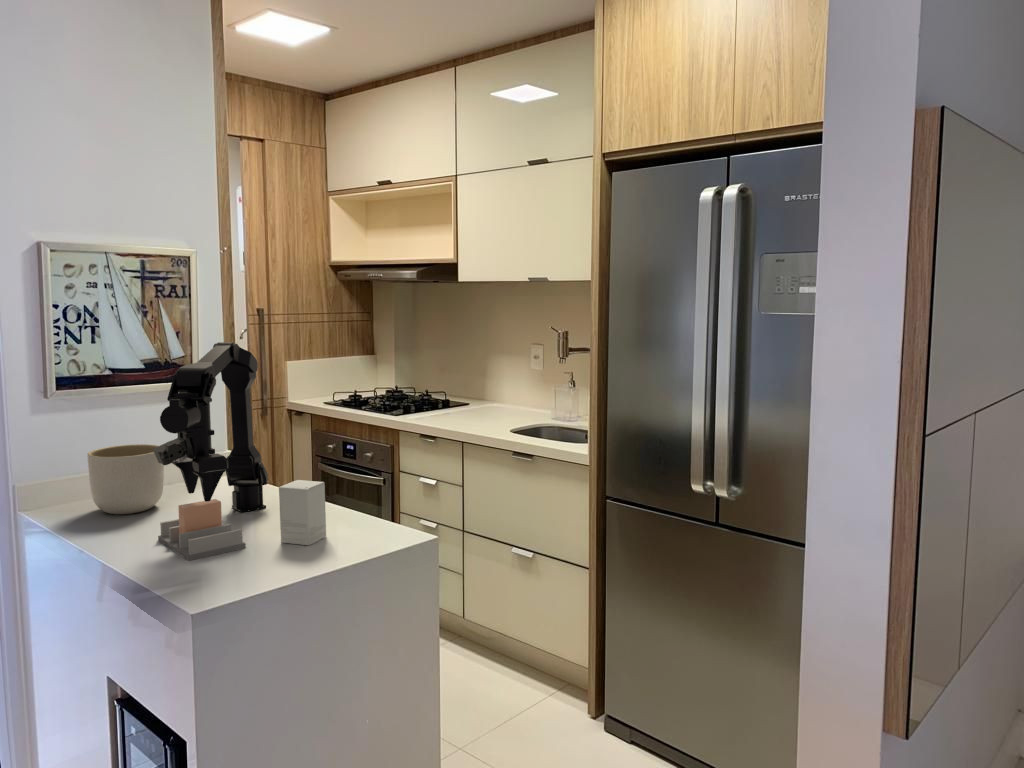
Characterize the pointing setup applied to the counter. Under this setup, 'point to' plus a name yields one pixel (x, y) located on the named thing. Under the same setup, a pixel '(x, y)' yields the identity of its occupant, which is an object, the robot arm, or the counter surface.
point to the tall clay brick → (199, 515)
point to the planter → (125, 478)
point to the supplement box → (302, 512)
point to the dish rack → (200, 540)
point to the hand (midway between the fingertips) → (199, 497)
